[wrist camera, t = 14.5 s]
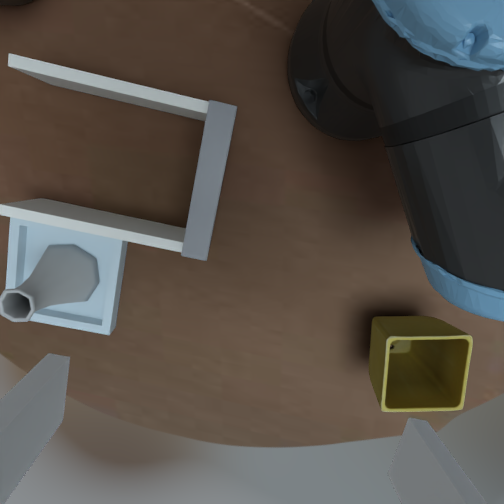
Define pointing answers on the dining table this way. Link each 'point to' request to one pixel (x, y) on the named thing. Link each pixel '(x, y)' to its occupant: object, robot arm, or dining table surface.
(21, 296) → the flask
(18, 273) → the tray
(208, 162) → the bay
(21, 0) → the plant pot
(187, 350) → the dining table surface
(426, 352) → the flower pot
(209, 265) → the dining table surface
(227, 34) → the dining table surface
